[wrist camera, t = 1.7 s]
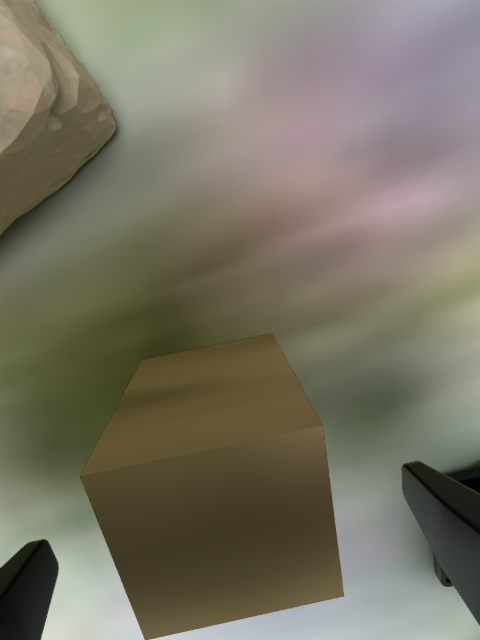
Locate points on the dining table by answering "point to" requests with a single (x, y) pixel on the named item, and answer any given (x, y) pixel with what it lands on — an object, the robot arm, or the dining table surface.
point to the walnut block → (215, 489)
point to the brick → (42, 111)
